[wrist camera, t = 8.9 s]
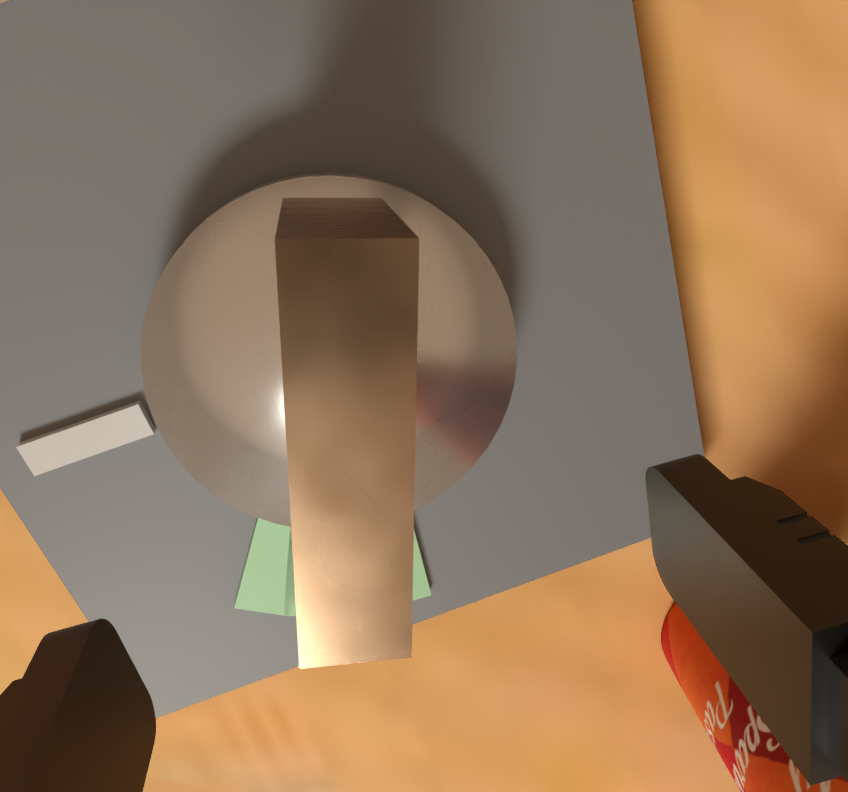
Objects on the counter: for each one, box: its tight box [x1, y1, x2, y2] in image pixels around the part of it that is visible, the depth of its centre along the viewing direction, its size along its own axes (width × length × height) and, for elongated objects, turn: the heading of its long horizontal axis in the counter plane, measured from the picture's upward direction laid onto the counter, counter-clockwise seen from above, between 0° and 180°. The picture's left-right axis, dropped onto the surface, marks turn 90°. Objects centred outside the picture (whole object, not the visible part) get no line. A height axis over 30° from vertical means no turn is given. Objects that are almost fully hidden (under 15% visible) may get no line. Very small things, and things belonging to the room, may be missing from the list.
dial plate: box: [0, 0, 704, 718], centre depth 21 cm, size 21×21×2 cm
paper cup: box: [661, 603, 848, 792], centre depth 24 cm, size 8×8×14 cm
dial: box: [140, 172, 517, 669], centre depth 18 cm, size 14×10×8 cm
